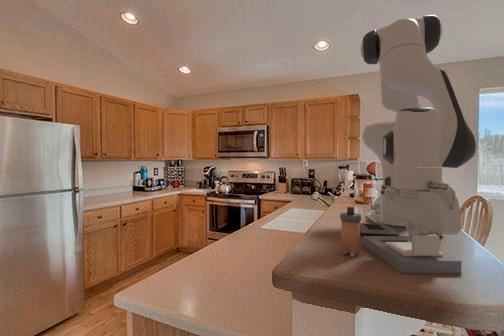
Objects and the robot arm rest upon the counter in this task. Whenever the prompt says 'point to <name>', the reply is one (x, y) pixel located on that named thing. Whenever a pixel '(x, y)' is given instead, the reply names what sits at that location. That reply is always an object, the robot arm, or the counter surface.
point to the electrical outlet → (377, 230)
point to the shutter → (418, 246)
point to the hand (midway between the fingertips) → (416, 244)
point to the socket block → (410, 257)
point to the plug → (350, 232)
